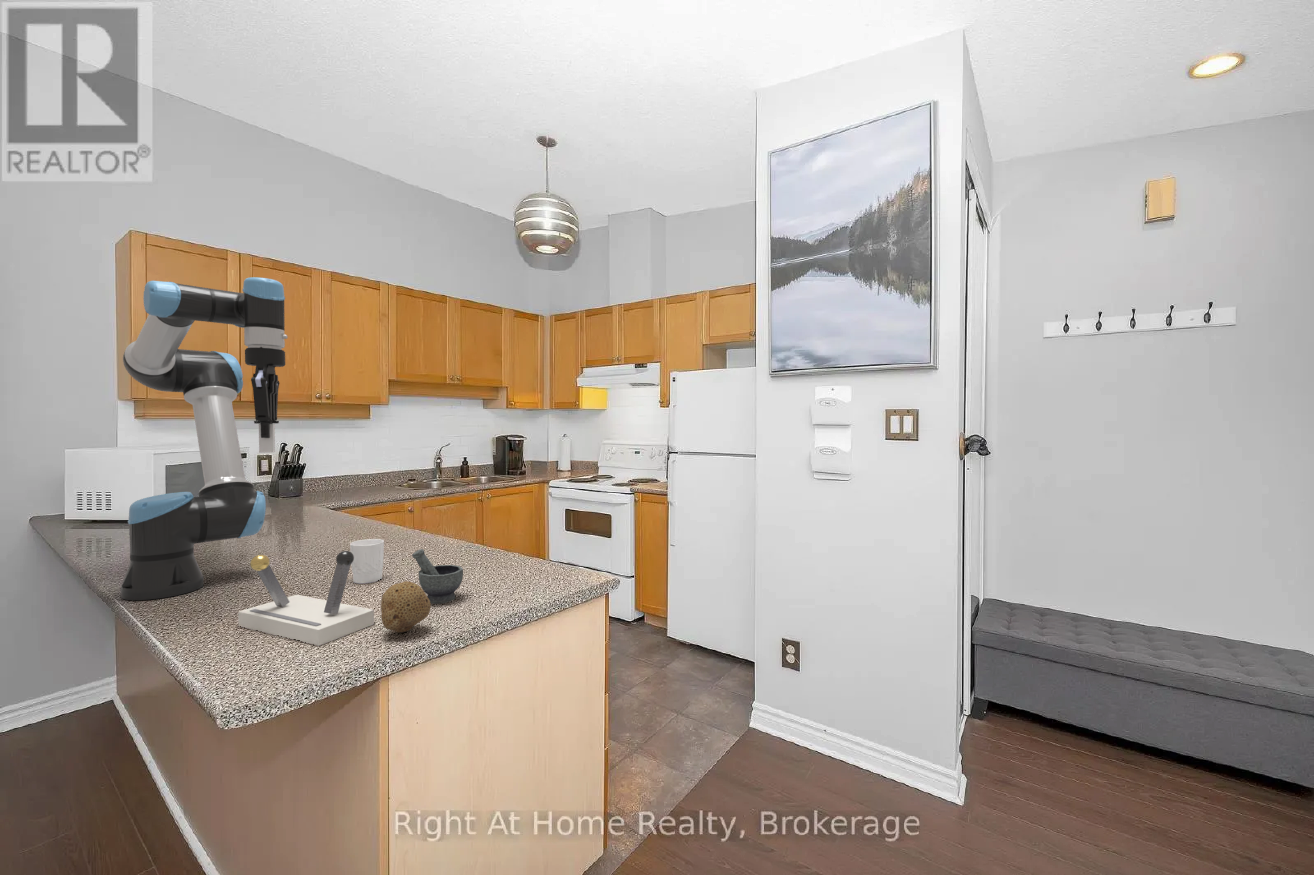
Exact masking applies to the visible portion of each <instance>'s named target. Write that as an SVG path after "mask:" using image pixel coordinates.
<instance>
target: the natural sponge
mask: <svg viewBox="0 0 1314 875" xmlns="http://www.w3.org/2000/svg"><path fill="white" fill-rule="evenodd" d="M427 595H428V594H426V593H425V592H424V590H423V589H422V587H421V585H420V586H419V585H418V584H417V583H415V582H412V581H409V580H408V581H406V580H404V581H402V582H398V583H395V584H393V585H391V586H389V587H388V588H387V589H386V590H385V592H384V593H383V594H382V596H381V601H380V611H381V614H380V615H381V622H382V625H383V627H384V628H385V629H386V630H390V631H394V632H395V633H397V634H402V633H407V632H408V631H410V630H412V629H413V628H414V626H416V625H417V624H419V623H421V622H422V621H424V620H425V619H426V618H427V617H428V616H429V614H430V612H431V606H432V605H431V604H432V603H430V600H429V599H428V597H427Z"/></svg>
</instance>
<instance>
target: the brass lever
mask: <svg viewBox="0 0 1314 875" xmlns="http://www.w3.org/2000/svg"><path fill="white" fill-rule="evenodd" d="M270 560H271V559H270V558H269V556H268V555H265V554H258V555H257V554H256V555H255V556H253V557H252V558H251V560H250V562H249V564H250V568H251V569H252V570H254V571H256V572H257V575H258V576H259V578H260V580H261V581H262V583H263V585H264V587H265V589H266V590H267V592H268V593H269V596H270V597H271V599H272V602H273V601H274V602H275V604H276V606H279V607H284V606H285V605H287V604H288V603H289V600H288V598H287V597H288V596H287V594H286V592H285V591H284V588H283V587H282V586H281V583H280V581H279V580H278V579H277V576H276V575H275V573H274V571H273V569H272V567H271V565H270Z"/></svg>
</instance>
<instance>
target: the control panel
mask: <svg viewBox="0 0 1314 875" xmlns="http://www.w3.org/2000/svg"><path fill="white" fill-rule="evenodd" d="M287 598H288V600H289V603H288V604H287V605H285V606H284V607H279V606H276V604H275V602H274V601H273V600H272V601H269V602H267V603H262V604H259V605H256V606H253V607H249V608H245V609H242V610H239V611H238V614H237V615H238V627H240V626H241V628H244V627H245V629H249V630H252V631H256V630H258V631H257V632H260V631H262V632H261V633H264V632H265V634H268V635H274V636H277V635H279V636H278V637H281V636H282V637H281V638H285V637H287V638H286V639H289V638H290V639H289V640H293V639H296V640H295V641H297V640H300V641H299V642H301V641H303V642H302V643H305V642H306V643H305V644H308V645H309V644H310V645H313V644H314V645H313V646H318V647H319V646H323V645H325V644H327V643H330V642H332V641H335V640H338V639H340V638H342V637H343V638H344V637H346V636H348V635H350V634H353V633H355V632H357V631H360V630H363V629H365V628H367V627H370V626H373V625H375V609H372V608H368V607H367V608H366V607H362V606H356V605H352V604H345V603H342V602H341V603H340V607H339V611H338V614H329V613H325V612H324V610H325V606H326V602H327V599H321V598H316V597H310V596H306V595H301V594H294V595H290V596H287Z"/></svg>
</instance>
